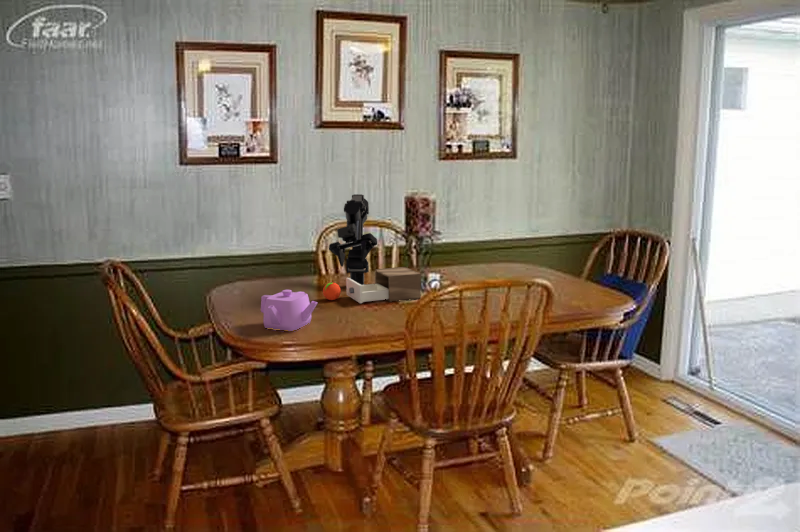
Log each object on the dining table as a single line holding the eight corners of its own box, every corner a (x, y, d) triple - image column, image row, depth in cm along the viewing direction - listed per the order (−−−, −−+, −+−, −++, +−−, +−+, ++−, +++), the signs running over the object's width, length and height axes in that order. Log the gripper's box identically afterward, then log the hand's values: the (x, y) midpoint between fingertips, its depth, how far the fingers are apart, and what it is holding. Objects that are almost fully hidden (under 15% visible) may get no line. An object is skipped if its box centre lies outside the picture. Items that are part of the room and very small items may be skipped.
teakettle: (304, 317, 254) (303, 282, 252) (319, 329, 239) (318, 293, 237) (256, 322, 248) (255, 287, 245) (269, 335, 232) (268, 298, 230)
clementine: (332, 303, 273) (332, 285, 271) (317, 301, 276) (317, 283, 275) (344, 299, 280) (344, 281, 278) (329, 297, 283) (329, 279, 281)
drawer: (343, 295, 283) (343, 278, 281) (376, 291, 288) (376, 275, 287) (357, 303, 269) (356, 285, 268) (391, 300, 275) (391, 282, 274)
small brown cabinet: (375, 293, 288) (374, 269, 286) (404, 290, 293) (404, 266, 291) (389, 302, 275) (389, 276, 273) (420, 298, 280) (420, 273, 278)
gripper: (322, 224, 278) (319, 259, 271) (363, 212, 270) (362, 248, 263) (337, 237, 287) (335, 272, 279) (378, 226, 279) (377, 261, 271)
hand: (352, 263), depth 273 cm, fingers open, 9 cm apart
